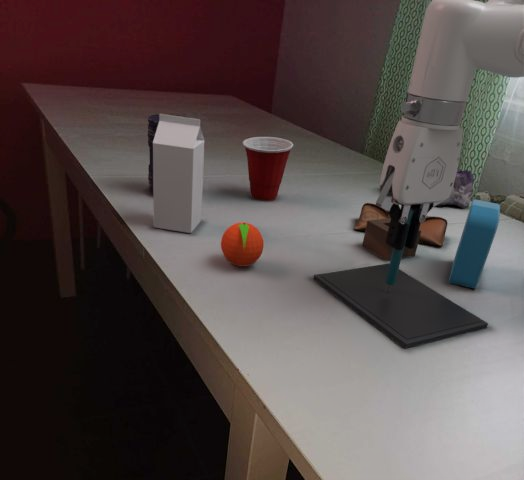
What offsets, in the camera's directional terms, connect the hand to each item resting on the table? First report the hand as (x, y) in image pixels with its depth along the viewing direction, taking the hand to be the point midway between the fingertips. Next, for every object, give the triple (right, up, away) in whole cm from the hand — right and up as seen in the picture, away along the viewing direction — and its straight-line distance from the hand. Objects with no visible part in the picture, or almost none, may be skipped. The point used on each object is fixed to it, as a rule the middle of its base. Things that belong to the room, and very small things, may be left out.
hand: (399, 245), depth 79 cm
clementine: (-24, -2, +9) cm, 25 cm away
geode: (+20, +21, +53) cm, 61 cm away
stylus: (-1, -6, +4) cm, 8 cm away
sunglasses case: (+8, +8, +30) cm, 32 cm away
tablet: (0, -8, +3) cm, 9 cm away
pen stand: (+3, +3, +21) cm, 22 cm away
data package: (+15, -3, +15) cm, 21 cm away
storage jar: (-40, +19, +38) cm, 58 cm away
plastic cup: (-20, +19, +42) cm, 50 cm away
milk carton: (-36, +8, +22) cm, 43 cm away
